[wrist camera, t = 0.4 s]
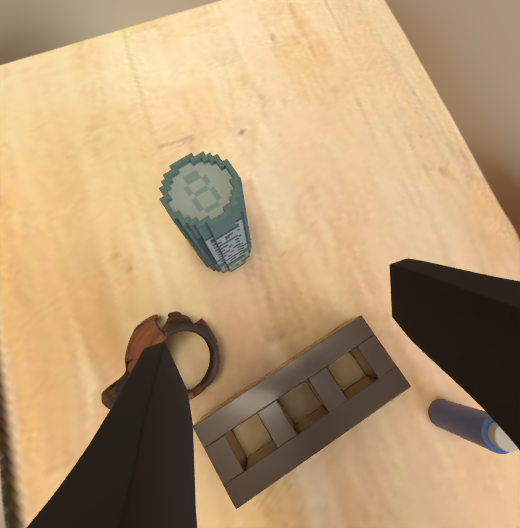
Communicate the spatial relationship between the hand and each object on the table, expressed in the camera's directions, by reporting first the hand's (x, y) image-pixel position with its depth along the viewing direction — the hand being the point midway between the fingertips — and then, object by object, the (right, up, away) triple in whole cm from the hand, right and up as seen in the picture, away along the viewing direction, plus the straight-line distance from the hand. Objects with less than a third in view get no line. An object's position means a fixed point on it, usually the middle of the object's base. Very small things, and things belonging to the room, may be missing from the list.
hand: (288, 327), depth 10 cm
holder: (+3, -13, +25) cm, 29 cm away
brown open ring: (-11, -9, +27) cm, 30 cm away
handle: (+18, -14, +25) cm, 34 cm away
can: (-5, +4, +30) cm, 31 cm away
